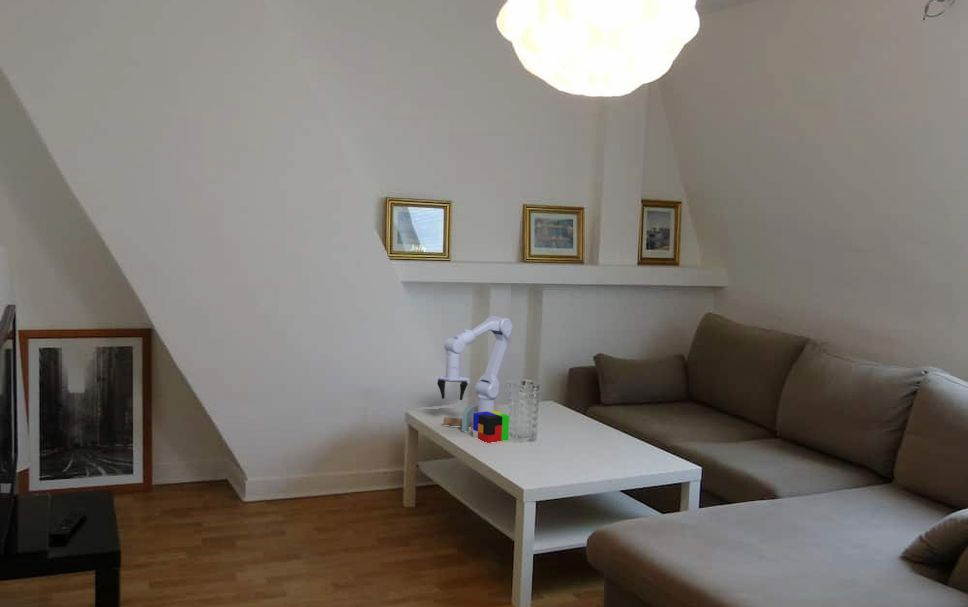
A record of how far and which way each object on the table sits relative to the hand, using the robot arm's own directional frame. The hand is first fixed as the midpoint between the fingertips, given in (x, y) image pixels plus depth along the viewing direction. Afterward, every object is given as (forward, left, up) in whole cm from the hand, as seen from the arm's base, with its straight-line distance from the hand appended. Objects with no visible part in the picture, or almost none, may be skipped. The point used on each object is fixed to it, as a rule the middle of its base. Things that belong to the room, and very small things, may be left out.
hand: (452, 399), depth 381 cm
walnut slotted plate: (+5, +8, -10) cm, 14 cm away
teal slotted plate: (+5, +8, -10) cm, 14 cm away
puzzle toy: (+19, +20, -11) cm, 30 cm away
